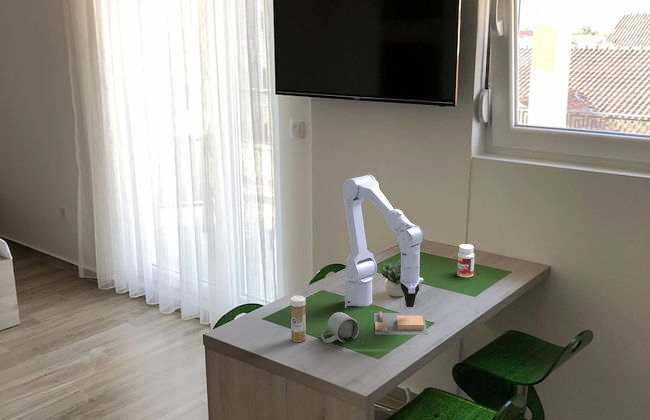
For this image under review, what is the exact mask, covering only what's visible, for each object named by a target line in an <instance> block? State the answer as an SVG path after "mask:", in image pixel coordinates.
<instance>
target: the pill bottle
mask: <svg viewBox="0 0 650 420" xmlns="http://www.w3.org/2000/svg"><path fill="white" fill-rule="evenodd" d="M458 249H459V251H458V253H457V264H456V267H457V268H456V274H457V276H458V277H461V278H471V277H473V276H474V274H475V273H474V272H475V253H474V251H475V250H474V245H472V244H466V243H465V244H464V243H463V244H460V245H459V248H458Z"/></svg>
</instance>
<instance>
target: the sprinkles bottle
mask: <svg viewBox="0 0 650 420" xmlns="http://www.w3.org/2000/svg"><path fill="white" fill-rule="evenodd" d="M289 305H290V319H291V320H290V329H291V337H290V339H291V341H293V342H295V343H302V342H304V341H306V340H307V335H306V333H307V332H306V330H307V328H306V327H307V325H306V318H307V317H306V297H305V296H302V295H293V296H292V297H290V299H289Z"/></svg>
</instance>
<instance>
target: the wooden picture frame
mask: <svg viewBox="0 0 650 420" xmlns="http://www.w3.org/2000/svg"><path fill="white" fill-rule="evenodd" d="M397 328H398V330H424V322H423V318H422V316H397Z"/></svg>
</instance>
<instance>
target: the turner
mask: <svg viewBox="0 0 650 420" xmlns="http://www.w3.org/2000/svg"><path fill="white" fill-rule="evenodd" d="M377 313H378V315H379V322H375V323H374V330H375V329H376V331H387V322H383V318H382V313H383V311H378V312H377Z"/></svg>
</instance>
